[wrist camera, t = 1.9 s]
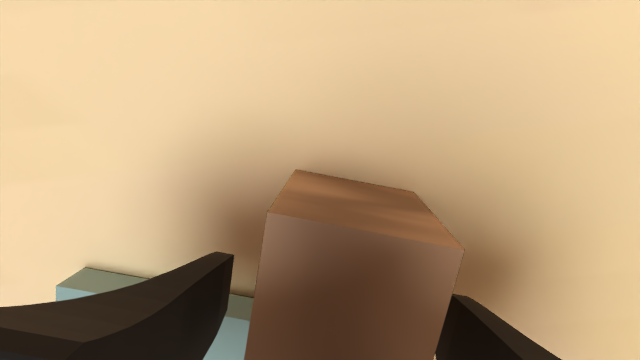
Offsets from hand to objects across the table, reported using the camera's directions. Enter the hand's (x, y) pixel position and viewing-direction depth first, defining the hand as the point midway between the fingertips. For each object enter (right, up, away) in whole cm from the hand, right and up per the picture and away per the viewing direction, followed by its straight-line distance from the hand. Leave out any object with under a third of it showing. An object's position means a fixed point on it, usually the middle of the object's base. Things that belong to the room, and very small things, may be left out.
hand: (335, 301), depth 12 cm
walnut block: (0, +2, +2) cm, 3 cm away
